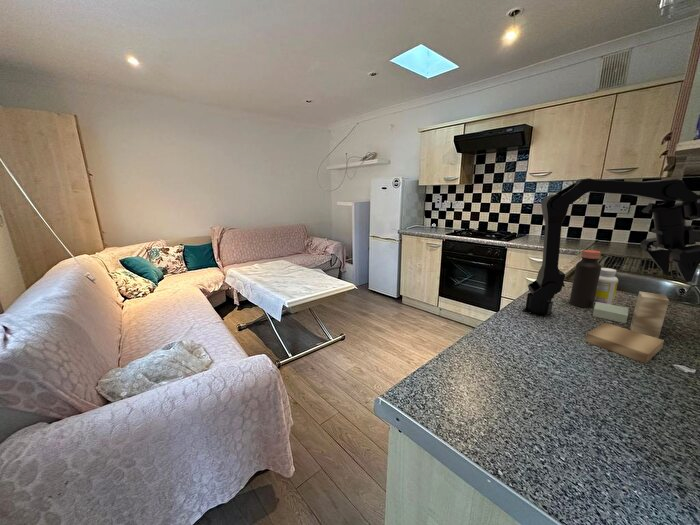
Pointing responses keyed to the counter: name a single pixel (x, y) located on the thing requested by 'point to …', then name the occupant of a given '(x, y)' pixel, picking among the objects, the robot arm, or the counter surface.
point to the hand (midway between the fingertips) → (676, 276)
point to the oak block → (625, 342)
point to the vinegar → (586, 279)
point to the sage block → (611, 312)
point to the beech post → (649, 314)
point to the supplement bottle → (606, 286)
